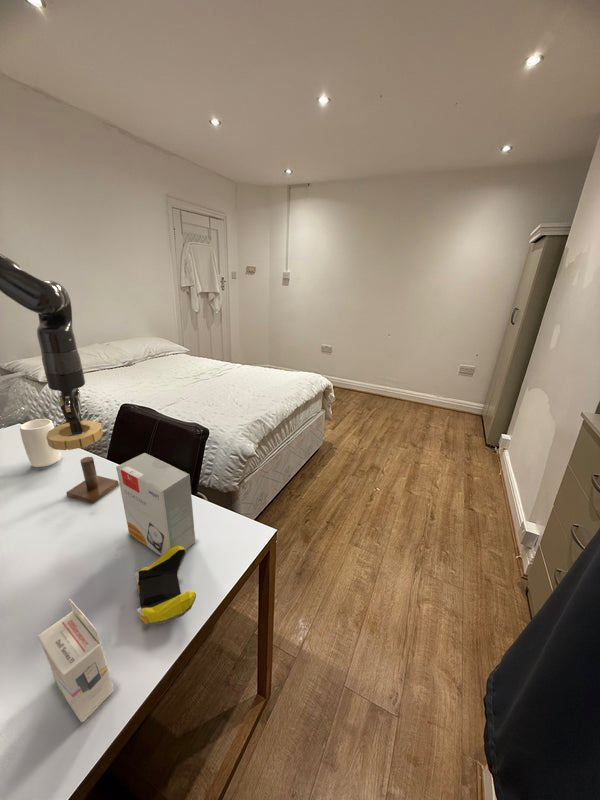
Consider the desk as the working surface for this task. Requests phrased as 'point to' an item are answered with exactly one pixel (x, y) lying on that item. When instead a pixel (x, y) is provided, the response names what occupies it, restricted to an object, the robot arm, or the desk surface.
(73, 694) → the ink box
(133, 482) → the hard drive box
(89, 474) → the stand
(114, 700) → the desk surface
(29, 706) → the desk surface
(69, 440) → the ring
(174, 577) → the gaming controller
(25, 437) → the cup
